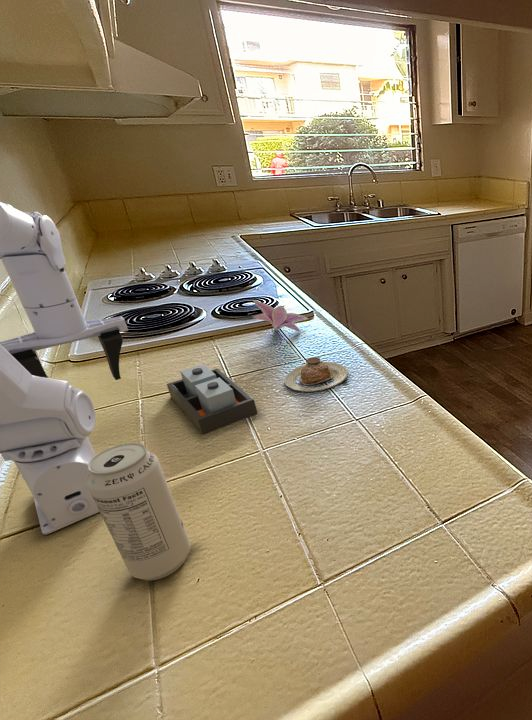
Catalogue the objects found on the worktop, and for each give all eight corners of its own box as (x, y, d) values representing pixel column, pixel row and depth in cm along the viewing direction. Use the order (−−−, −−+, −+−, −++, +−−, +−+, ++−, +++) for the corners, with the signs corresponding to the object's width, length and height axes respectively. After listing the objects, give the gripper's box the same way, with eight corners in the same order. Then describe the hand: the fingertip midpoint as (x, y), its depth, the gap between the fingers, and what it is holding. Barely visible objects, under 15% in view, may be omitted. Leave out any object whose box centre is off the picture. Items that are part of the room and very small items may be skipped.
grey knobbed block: (239, 414, 79) (231, 386, 77) (214, 423, 77) (205, 394, 74) (226, 401, 83) (218, 374, 80) (202, 410, 80) (193, 382, 78)
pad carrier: (258, 416, 80) (254, 399, 79) (203, 437, 75) (197, 420, 73) (222, 383, 91) (217, 367, 89) (171, 399, 85) (166, 383, 83)
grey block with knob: (222, 398, 84) (214, 371, 82) (198, 407, 82) (190, 379, 79) (210, 387, 88) (203, 361, 86) (187, 395, 85) (179, 368, 83)
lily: (315, 343, 110) (314, 303, 111) (269, 340, 100) (268, 296, 101) (285, 347, 117) (285, 309, 118) (239, 344, 107) (239, 304, 108)
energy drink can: (203, 542, 56) (166, 440, 49) (170, 586, 50) (123, 478, 44) (156, 539, 56) (112, 438, 49) (118, 583, 51) (63, 475, 44)
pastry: (280, 375, 94) (276, 354, 92) (340, 362, 99) (337, 342, 97) (291, 401, 84) (286, 379, 82) (355, 385, 90) (353, 364, 88)
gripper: (106, 284, 72) (135, 362, 78) (-24, 307, 62) (20, 394, 68) (117, 294, 67) (147, 376, 73) (-22, 320, 58) (25, 412, 64)
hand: (86, 386), depth 71 cm, fingers open, 7 cm apart
